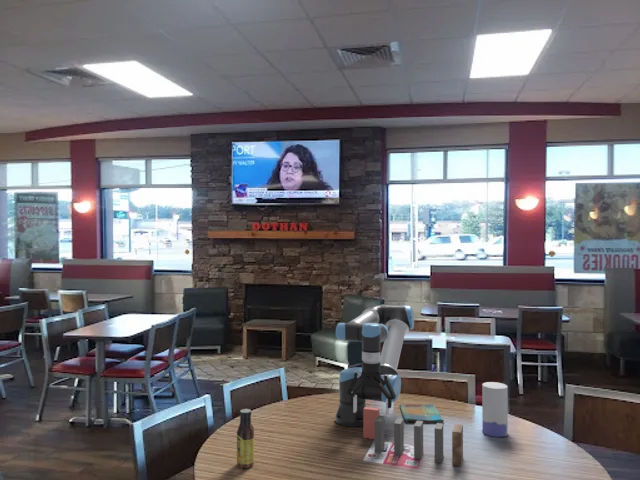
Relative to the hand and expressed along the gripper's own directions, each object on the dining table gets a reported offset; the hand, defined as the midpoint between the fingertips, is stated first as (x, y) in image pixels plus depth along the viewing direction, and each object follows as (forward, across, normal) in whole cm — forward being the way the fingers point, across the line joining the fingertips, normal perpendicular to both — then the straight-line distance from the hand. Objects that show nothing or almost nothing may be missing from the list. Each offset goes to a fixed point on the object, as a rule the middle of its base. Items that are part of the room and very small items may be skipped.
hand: (371, 413), depth 207 cm
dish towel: (+10, +14, +35) cm, 39 cm away
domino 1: (+10, +6, -10) cm, 15 cm away
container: (+10, +47, +24) cm, 54 cm away
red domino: (+10, 0, 0) cm, 10 cm away
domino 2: (+10, +14, -10) cm, 19 cm away
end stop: (+10, +35, -10) cm, 38 cm away
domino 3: (+10, +21, -10) cm, 25 cm away
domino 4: (+10, +28, -10) cm, 32 cm away
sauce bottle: (+10, -36, -40) cm, 55 cm away
